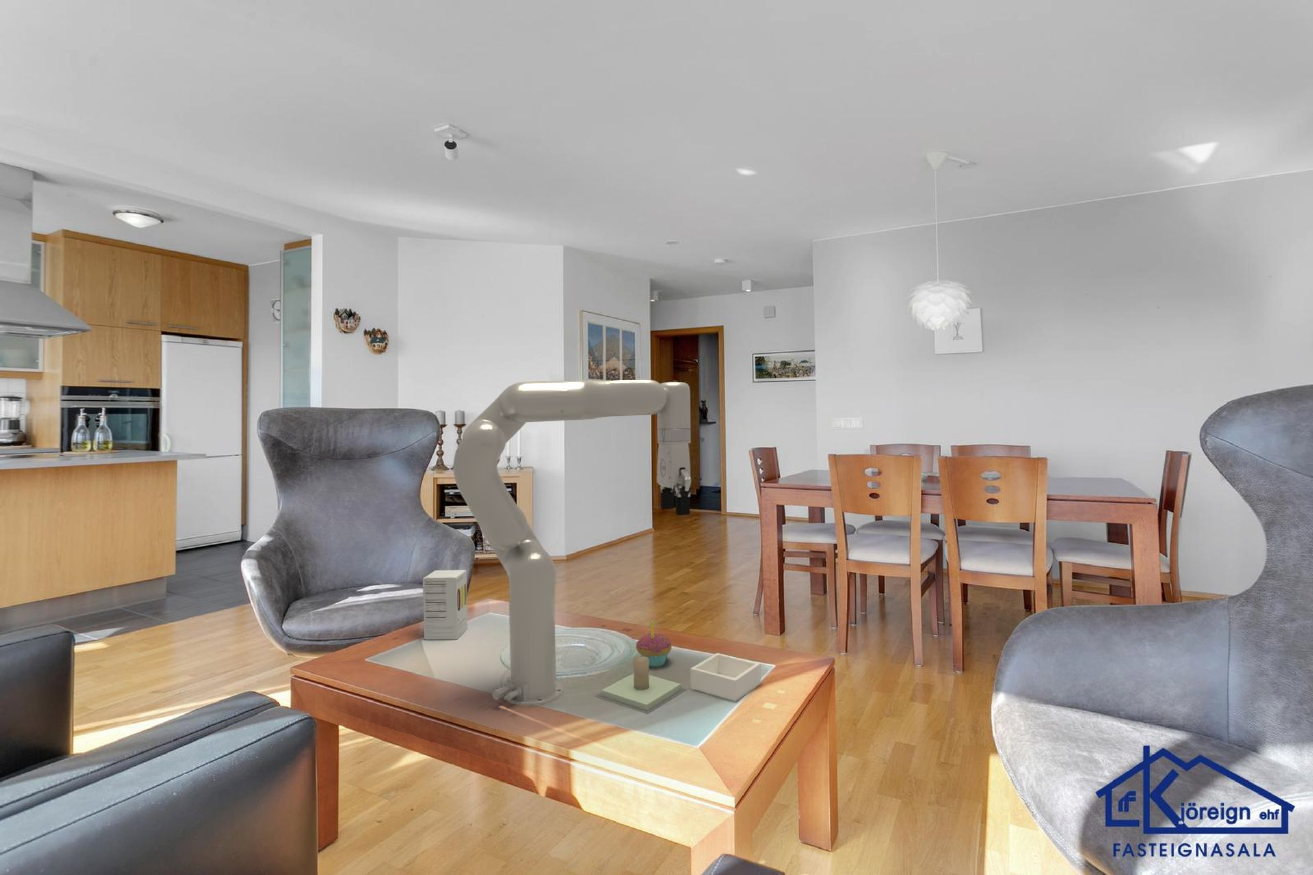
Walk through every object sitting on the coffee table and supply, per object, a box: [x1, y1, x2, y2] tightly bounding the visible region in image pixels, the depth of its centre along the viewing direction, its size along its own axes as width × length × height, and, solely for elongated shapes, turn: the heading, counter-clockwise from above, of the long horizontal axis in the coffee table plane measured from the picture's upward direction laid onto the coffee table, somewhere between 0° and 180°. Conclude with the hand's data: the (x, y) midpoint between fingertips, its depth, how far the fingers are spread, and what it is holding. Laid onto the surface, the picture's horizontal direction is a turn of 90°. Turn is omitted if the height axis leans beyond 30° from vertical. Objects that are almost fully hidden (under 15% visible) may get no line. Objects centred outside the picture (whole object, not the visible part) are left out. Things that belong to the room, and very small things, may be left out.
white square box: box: [689, 652, 762, 703], centre depth 139 cm, size 11×11×5 cm
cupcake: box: [635, 617, 673, 667], centre depth 153 cm, size 9×8×12 cm
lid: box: [600, 655, 682, 711], centre depth 136 cm, size 12×12×7 cm
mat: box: [594, 686, 688, 715], centre depth 137 cm, size 14×14×1 cm
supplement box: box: [422, 569, 469, 641], centre depth 177 cm, size 10×9×17 cm
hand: (674, 511), depth 147 cm, fingers open, 9 cm apart
